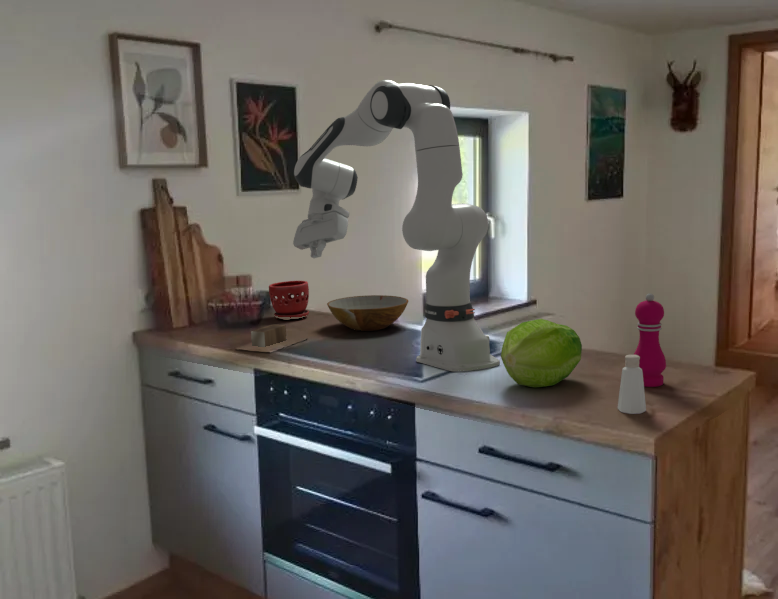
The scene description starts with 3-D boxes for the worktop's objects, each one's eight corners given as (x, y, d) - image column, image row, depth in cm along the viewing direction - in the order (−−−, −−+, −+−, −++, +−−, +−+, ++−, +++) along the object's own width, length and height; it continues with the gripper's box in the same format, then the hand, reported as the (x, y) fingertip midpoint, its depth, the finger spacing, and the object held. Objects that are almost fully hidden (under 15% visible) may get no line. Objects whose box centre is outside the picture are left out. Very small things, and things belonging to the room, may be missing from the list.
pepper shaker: (611, 408, 161) (612, 354, 160) (632, 404, 164) (633, 351, 162) (630, 415, 156) (631, 360, 155) (652, 411, 159) (653, 356, 157)
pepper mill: (627, 379, 182) (628, 291, 179) (660, 378, 182) (661, 290, 178) (636, 388, 175) (637, 296, 171) (670, 387, 175) (672, 295, 171)
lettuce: (545, 397, 167) (485, 394, 178) (602, 374, 182) (544, 373, 194) (536, 328, 166) (477, 329, 177) (595, 310, 181) (536, 313, 193)
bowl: (315, 334, 243) (313, 308, 242) (345, 318, 267) (344, 294, 265) (395, 337, 235) (394, 310, 234) (419, 320, 259) (418, 295, 257)
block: (285, 325, 232) (263, 332, 224) (286, 340, 233) (264, 348, 224) (272, 324, 235) (250, 331, 226) (273, 339, 235) (251, 347, 226)
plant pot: (299, 313, 279) (297, 278, 277) (317, 318, 268) (315, 282, 266) (264, 318, 273) (262, 282, 271) (280, 323, 262) (278, 287, 260)
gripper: (292, 217, 247) (284, 259, 243) (338, 203, 234) (330, 247, 229) (308, 225, 252) (300, 266, 247) (353, 211, 238) (346, 255, 233)
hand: (315, 257), depth 238 cm, fingers closed
